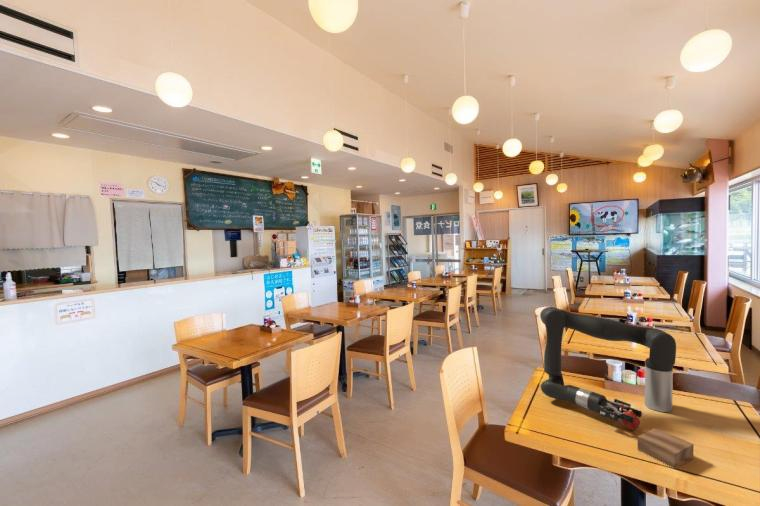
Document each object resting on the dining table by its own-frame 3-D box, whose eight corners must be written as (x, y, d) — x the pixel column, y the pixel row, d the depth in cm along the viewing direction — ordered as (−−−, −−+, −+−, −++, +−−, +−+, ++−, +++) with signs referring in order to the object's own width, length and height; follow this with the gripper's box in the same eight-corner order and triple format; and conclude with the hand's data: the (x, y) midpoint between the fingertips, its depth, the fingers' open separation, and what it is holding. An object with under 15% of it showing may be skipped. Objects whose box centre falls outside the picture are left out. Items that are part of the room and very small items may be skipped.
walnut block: (655, 441, 127) (656, 427, 127) (693, 458, 117) (693, 444, 117) (637, 450, 123) (637, 436, 122) (674, 468, 113) (674, 453, 112)
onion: (617, 426, 137) (617, 406, 137) (631, 425, 138) (631, 405, 137) (629, 434, 132) (629, 414, 131) (643, 433, 132) (643, 413, 132)
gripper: (582, 396, 142) (629, 413, 128) (598, 387, 150) (645, 401, 136) (582, 414, 142) (629, 433, 128) (598, 404, 150) (645, 420, 137)
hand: (637, 417), depth 132 cm, fingers open, 6 cm apart
